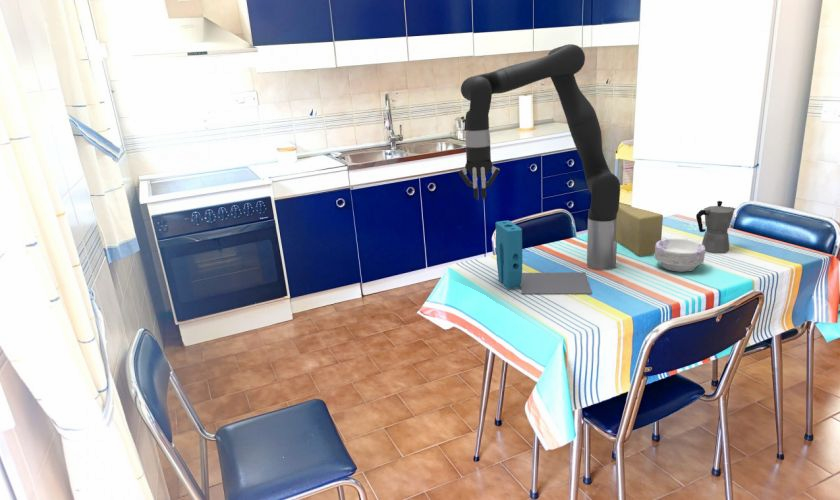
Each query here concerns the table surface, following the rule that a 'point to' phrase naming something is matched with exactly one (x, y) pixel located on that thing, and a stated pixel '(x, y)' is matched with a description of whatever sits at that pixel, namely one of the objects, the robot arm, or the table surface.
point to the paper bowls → (679, 254)
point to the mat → (555, 283)
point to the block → (509, 254)
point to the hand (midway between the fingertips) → (480, 199)
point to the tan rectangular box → (638, 229)
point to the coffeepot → (716, 227)
